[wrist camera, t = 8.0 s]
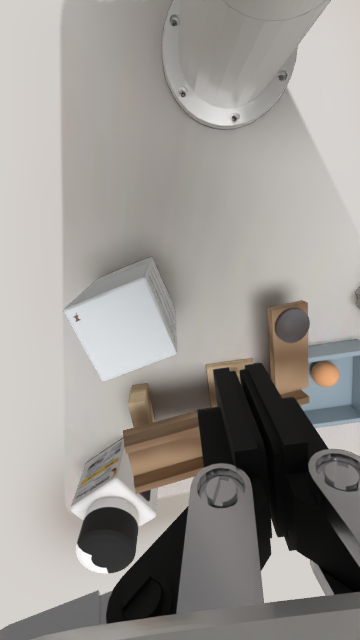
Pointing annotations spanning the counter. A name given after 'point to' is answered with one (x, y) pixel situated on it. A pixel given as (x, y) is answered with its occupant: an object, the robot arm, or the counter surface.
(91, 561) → the container
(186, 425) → the lever
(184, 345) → the counter surface
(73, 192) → the counter surface
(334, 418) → the dish
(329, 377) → the ball
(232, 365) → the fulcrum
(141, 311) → the supplement box
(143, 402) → the block
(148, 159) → the counter surface
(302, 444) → the robot arm
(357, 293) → the egg carton
